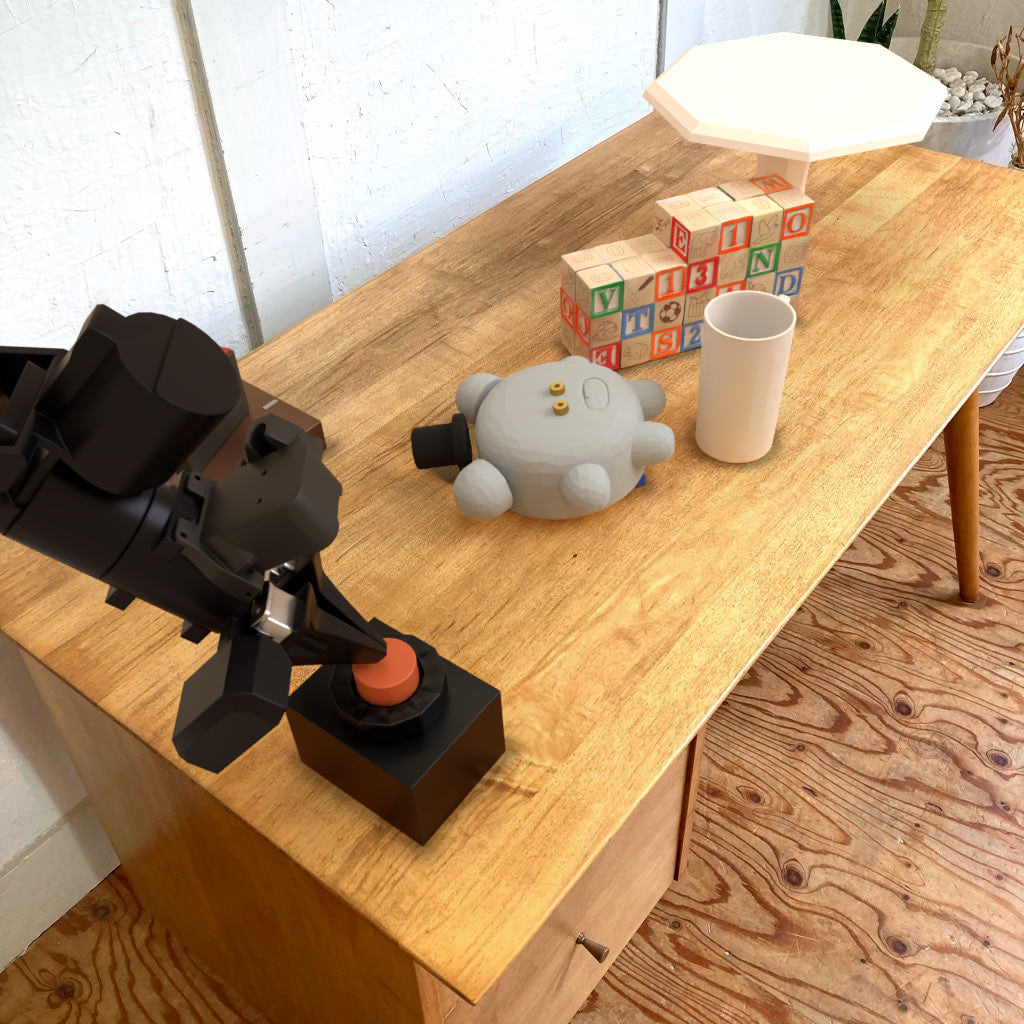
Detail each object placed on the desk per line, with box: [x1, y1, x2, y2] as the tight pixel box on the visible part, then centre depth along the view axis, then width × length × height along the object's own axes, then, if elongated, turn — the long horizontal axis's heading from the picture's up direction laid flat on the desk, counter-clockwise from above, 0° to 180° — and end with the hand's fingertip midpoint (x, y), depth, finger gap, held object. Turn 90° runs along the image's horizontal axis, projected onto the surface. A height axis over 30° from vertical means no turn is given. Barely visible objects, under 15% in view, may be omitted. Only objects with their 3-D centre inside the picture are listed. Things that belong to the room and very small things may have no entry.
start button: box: [352, 638, 419, 706], centre depth 60 cm, size 4×4×2 cm
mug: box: [695, 290, 797, 464], centre depth 83 cm, size 10×7×12 cm, turn 139°
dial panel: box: [168, 379, 328, 483], centre depth 85 cm, size 14×13×3 cm
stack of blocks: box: [559, 174, 815, 371], centre depth 93 cm, size 21×6×12 cm, turn 112°
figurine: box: [410, 355, 676, 521], centre depth 82 cm, size 17×8×20 cm
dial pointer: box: [176, 346, 249, 476], centre depth 82 cm, size 9×2×6 cm, turn 162°
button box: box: [284, 616, 507, 847], centre depth 63 cm, size 10×8×8 cm
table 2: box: [641, 31, 949, 194], centre depth 103 cm, size 28×28×17 cm
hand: (382, 654), depth 58 cm, fingers closed
